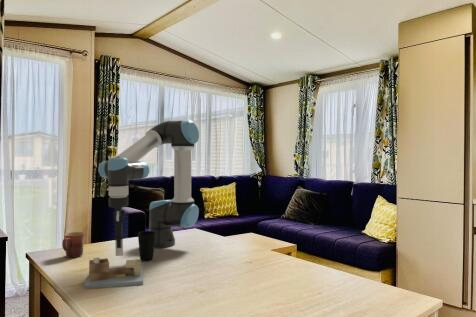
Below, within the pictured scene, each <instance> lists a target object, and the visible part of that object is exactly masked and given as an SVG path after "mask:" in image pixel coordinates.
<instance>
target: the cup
mask: <svg viewBox="0 0 476 317" xmlns="http://www.w3.org/2000/svg"><path fill="white" fill-rule="evenodd" d="M137 240H138V241H137V242H138V249H139V250H138V251H139V259H141V262H151V261H153V259H154V251H155V247H154V243H155V232H153V231H149V230H145V231H139V232H137Z"/></svg>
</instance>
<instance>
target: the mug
mask: <svg viewBox="0 0 476 317" xmlns="http://www.w3.org/2000/svg"><path fill="white" fill-rule="evenodd" d="M85 234H86V233H85V232H84V231H83V232H82V231H72V232H66V233H64V235H63V236H64V238H63V239H62V242H61V247H62V249H63V251H64V252H65V256H66V257H67V258H69V259H70V258H71V259H73V258H75V259H76V258H79V257H81V256H83V253H84V238H85Z"/></svg>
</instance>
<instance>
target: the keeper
mask: <svg viewBox="0 0 476 317" xmlns="http://www.w3.org/2000/svg"><path fill="white" fill-rule="evenodd" d="M141 264H142V261H141V259H140V258H139V259H136V258H135V259H126V261H125V264H124V265H125V268H134V267H135V277H139V276H141ZM121 278H125V274H117V279H121Z"/></svg>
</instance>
